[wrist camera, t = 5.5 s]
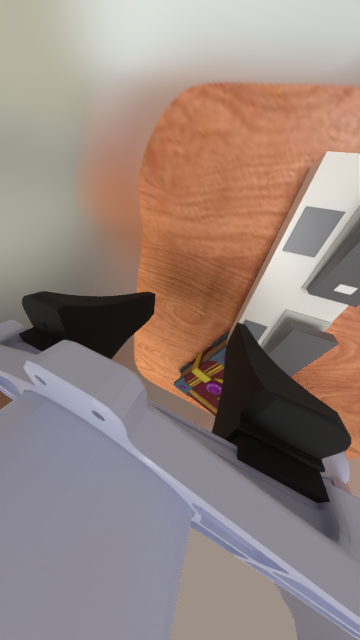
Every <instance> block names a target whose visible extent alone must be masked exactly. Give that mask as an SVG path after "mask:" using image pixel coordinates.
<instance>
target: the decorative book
mask: <svg viewBox="0 0 360 640" xmlns="http://www.w3.org/2000/svg"><path fill="white" fill-rule="evenodd" d="M228 336H229V332H227V333H225V334H224V335H223V336H222V337H221V338H219V339H218V340H217V341H216V342H214V343H213V344H212V346H211V347H210V348H209V349H207V350H206V351H205V352H203V351H202V352H201V353H199V354H198V355H197V358H196V359H195V360H193V361H192V362H191V363H190V362H189V363H188V364H187V365H185V366H184V367H183V368H181V369H180V371H179V372H181V373H182V374H181V376H180V378H179V379H178V380H177V381H175V382H174V384H173V385H174V386H176V387H177V388H178V389H180V390H181V391H182V392H183V393H185V394H186V395H187V396H188V395H189V396H190V397H192V398H193V399H194V400H195V401H197V402H198V403H199V404H201V405H202V406H203V407H204V408H206V409H207V410H208V411H210V412H211V413H212V414H213V415H215V416H216V413H217V408H218V404H219V399H220V394H221V389H222V383H223V376H224V363H225V351H226V346H227V345H226V344H227V338H228Z"/></svg>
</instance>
